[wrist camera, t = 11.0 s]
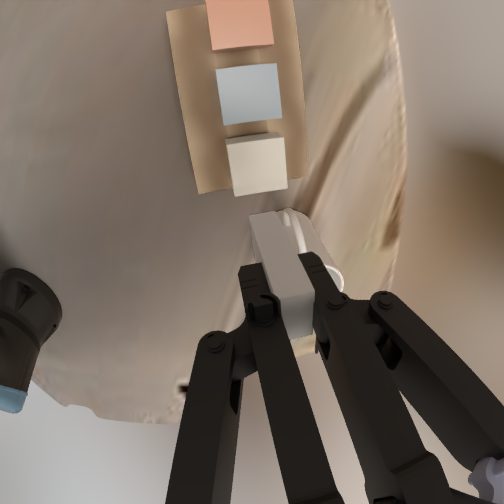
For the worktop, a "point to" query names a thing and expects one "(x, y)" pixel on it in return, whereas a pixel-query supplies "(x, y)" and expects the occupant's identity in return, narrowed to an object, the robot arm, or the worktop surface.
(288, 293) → the robot arm
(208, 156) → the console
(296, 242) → the mug
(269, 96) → the slate key
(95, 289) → the worktop surface
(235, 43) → the terracotta key
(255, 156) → the ivory key
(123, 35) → the worktop surface
